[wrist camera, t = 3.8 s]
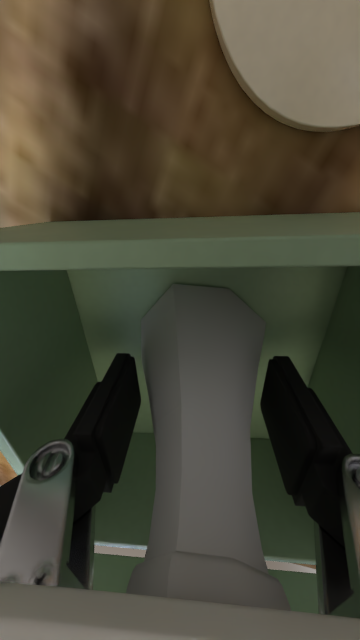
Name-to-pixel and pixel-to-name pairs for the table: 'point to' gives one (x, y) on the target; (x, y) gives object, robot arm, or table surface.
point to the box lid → (118, 569)
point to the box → (125, 337)
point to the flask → (203, 451)
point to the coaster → (295, 58)
